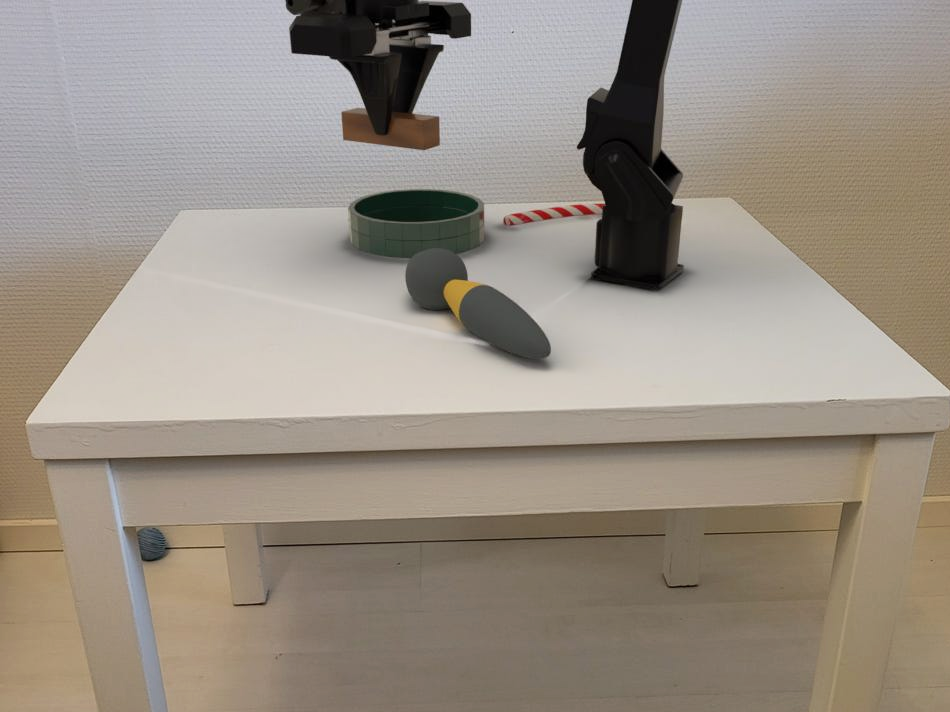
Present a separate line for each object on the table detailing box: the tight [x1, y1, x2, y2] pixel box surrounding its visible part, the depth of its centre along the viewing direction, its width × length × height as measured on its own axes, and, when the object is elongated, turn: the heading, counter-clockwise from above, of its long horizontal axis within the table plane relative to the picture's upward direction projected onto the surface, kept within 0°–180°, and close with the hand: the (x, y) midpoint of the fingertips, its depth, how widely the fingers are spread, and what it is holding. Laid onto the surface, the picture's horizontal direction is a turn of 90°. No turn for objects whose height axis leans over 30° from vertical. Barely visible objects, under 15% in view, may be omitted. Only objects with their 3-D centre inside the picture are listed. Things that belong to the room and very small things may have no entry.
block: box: [341, 107, 441, 151], centre depth 88 cm, size 9×2×2 cm, turn 58°
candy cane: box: [502, 203, 605, 226], centre depth 103 cm, size 8×1×15 cm
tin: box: [347, 188, 485, 259], centre depth 97 cm, size 13×13×4 cm
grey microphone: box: [404, 248, 552, 360], centre depth 76 cm, size 20×5×5 cm, turn 38°
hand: (390, 132), depth 89 cm, fingers closed on block, 2 cm apart
